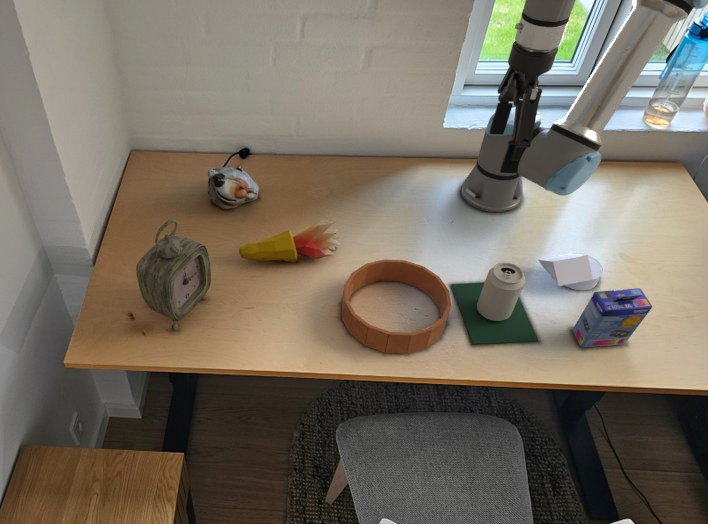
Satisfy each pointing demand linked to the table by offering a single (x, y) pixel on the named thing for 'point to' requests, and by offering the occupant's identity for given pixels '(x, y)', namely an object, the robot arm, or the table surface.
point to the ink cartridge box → (611, 317)
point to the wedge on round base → (573, 270)
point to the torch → (294, 244)
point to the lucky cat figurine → (231, 187)
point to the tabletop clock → (174, 275)
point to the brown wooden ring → (406, 274)
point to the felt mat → (489, 330)
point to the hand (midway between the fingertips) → (501, 152)
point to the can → (501, 291)
